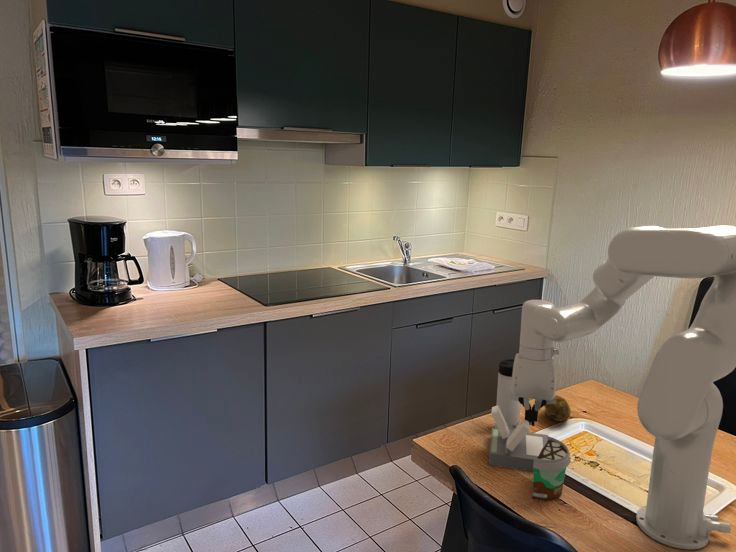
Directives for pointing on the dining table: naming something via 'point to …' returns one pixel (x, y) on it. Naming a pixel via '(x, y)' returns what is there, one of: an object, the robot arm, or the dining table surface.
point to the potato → (558, 409)
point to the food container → (550, 470)
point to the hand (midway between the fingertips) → (530, 423)
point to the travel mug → (507, 395)
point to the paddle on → (500, 422)
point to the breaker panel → (516, 450)
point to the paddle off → (517, 436)
